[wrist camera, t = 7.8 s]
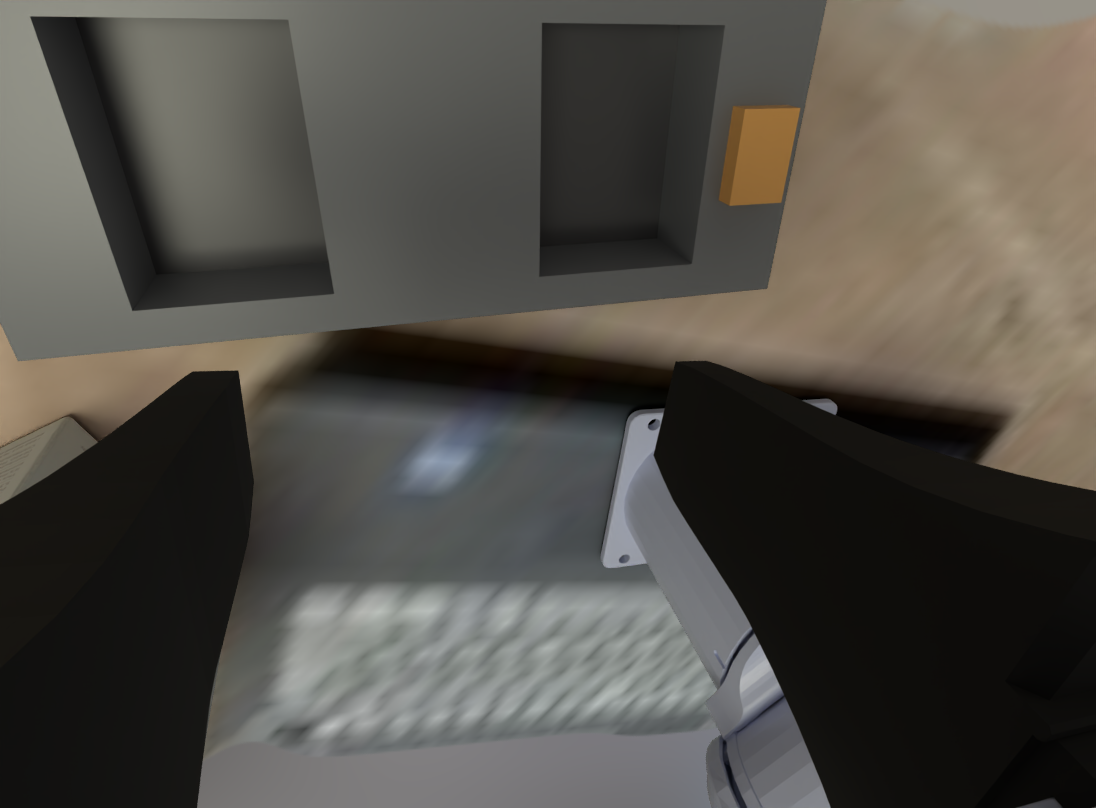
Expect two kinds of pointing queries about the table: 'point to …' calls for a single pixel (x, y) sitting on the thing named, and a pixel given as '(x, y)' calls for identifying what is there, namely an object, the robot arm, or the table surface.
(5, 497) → the small box
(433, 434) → the table surface
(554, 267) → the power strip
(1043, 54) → the table surface
